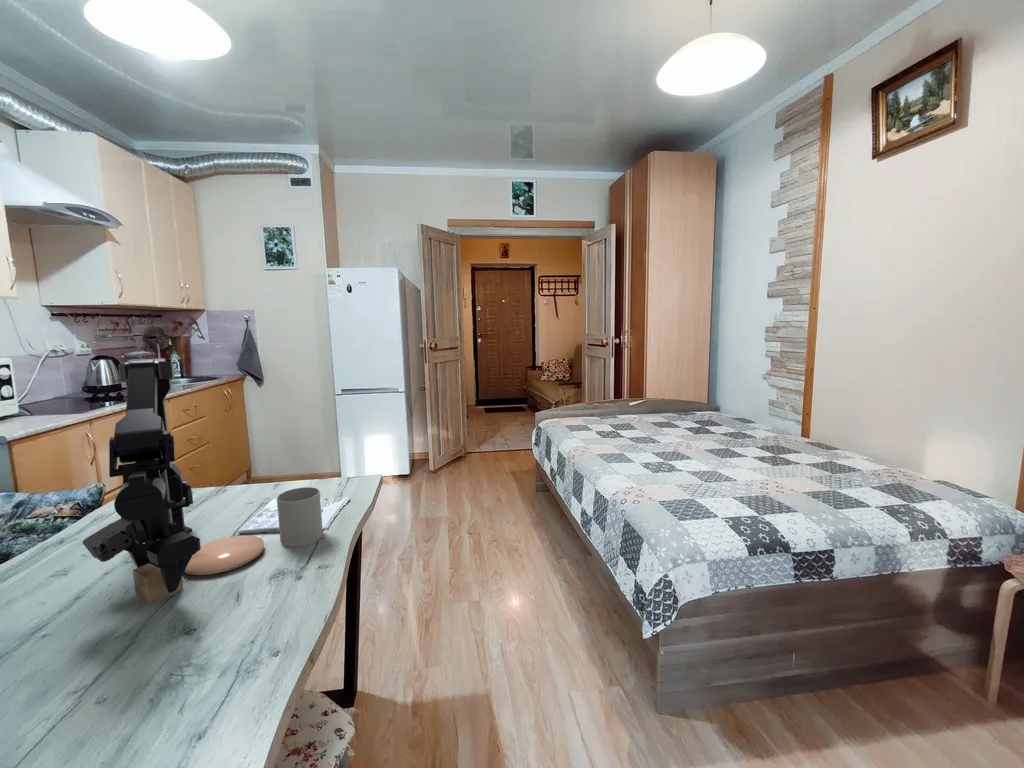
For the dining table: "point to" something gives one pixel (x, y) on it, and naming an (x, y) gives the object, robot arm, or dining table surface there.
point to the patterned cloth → (270, 522)
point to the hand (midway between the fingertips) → (159, 584)
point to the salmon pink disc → (225, 554)
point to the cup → (299, 516)
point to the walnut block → (151, 584)
